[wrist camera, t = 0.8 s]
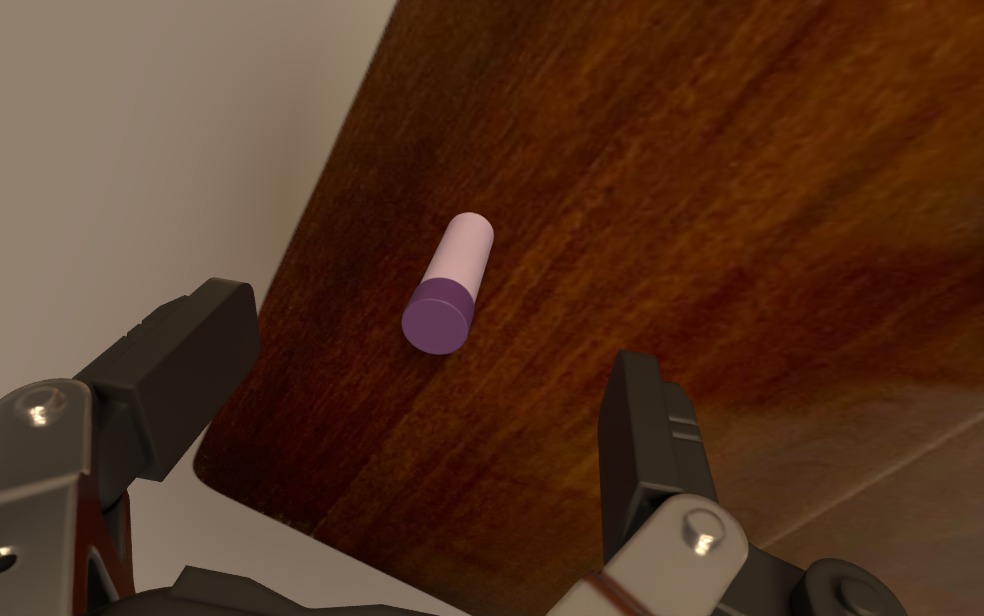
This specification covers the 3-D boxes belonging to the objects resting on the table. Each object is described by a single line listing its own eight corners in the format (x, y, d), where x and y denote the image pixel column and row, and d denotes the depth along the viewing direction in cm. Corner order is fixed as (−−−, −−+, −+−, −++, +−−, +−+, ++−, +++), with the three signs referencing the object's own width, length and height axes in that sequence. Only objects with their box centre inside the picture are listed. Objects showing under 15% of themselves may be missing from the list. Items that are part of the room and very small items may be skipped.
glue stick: (443, 210, 32) (397, 297, 24) (494, 211, 32) (465, 300, 23) (447, 256, 34) (405, 353, 25) (496, 257, 33) (469, 356, 25)
